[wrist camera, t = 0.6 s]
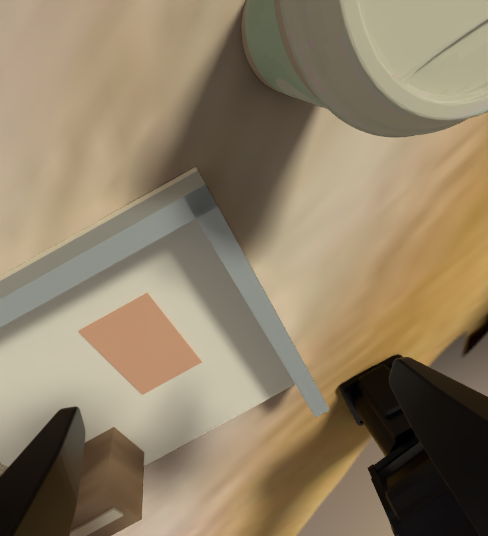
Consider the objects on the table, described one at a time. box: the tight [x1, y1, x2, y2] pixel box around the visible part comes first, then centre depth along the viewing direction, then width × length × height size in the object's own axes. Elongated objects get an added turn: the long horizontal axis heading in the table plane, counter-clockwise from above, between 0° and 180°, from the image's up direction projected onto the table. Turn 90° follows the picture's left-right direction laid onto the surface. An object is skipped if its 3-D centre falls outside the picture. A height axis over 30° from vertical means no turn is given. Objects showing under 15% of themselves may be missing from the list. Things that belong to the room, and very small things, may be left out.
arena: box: [0, 167, 330, 467], centre depth 22 cm, size 19×23×5 cm
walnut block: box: [70, 427, 144, 536], centre depth 24 cm, size 6×4×5 cm, turn 116°
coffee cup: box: [241, 0, 488, 137], centre depth 12 cm, size 8×9×12 cm
